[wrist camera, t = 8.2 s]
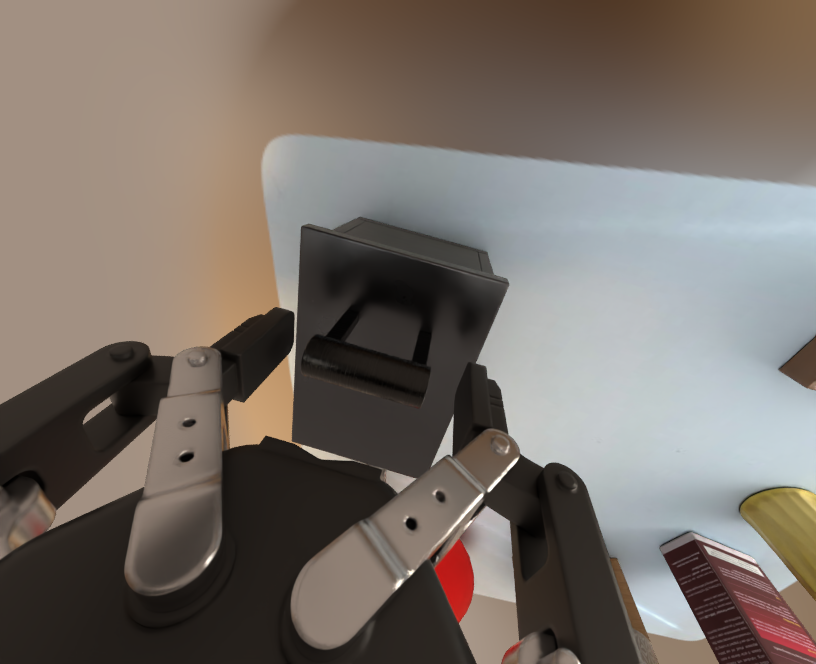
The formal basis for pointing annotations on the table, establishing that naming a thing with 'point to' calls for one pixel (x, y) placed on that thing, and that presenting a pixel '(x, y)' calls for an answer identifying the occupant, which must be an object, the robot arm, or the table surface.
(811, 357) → the control block
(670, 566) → the supplement box
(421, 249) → the box
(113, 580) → the robot arm
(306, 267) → the black box lid
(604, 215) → the table surface
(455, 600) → the tomato
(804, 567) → the vase
